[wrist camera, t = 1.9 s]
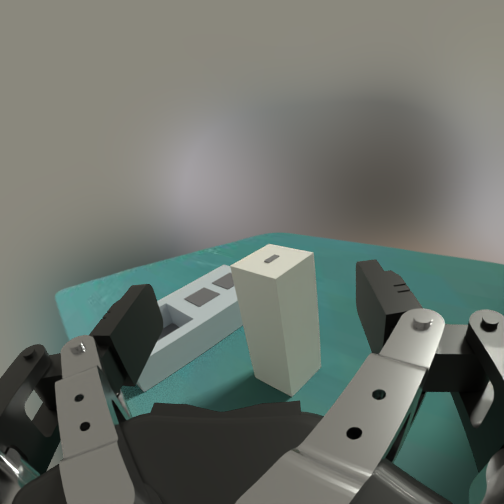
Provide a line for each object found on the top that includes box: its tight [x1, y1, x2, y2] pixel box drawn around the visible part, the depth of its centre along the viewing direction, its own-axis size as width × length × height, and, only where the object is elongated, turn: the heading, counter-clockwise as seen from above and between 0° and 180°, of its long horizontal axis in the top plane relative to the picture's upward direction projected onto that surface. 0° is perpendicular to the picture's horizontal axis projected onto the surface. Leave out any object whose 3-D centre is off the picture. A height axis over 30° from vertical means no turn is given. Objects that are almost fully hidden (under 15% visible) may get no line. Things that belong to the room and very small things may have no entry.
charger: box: [230, 244, 321, 397], centre depth 26 cm, size 4×4×12 cm
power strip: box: [136, 265, 243, 392], centre depth 36 cm, size 20×9×4 cm, turn 136°
